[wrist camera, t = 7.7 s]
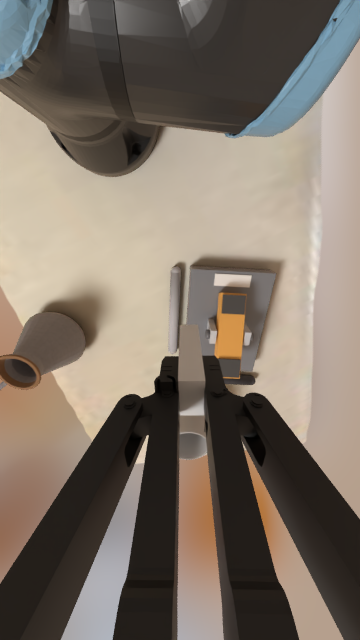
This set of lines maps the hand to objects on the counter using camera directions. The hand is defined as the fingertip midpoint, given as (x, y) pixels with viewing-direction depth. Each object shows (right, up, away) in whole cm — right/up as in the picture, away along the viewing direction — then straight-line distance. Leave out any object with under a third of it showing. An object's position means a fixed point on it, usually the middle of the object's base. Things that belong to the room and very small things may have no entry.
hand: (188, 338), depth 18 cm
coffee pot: (-29, -4, +27) cm, 39 cm away
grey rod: (-2, +3, +23) cm, 23 cm away
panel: (+8, +2, +23) cm, 25 cm away
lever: (+8, -1, +19) cm, 20 cm away
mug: (0, -18, +33) cm, 37 cm away
